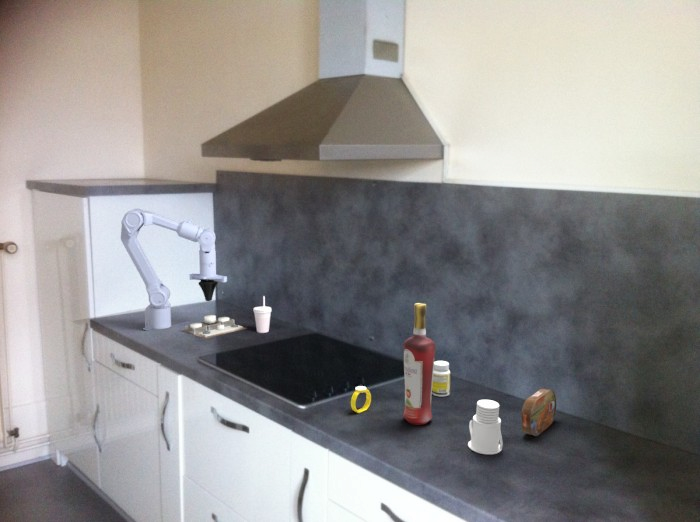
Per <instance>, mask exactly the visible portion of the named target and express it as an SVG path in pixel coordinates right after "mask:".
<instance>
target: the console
mask: <svg viewBox="0 0 700 522" xmlns="http://www.w3.org/2000/svg"><path fill="white" fill-rule="evenodd" d="M200 323H201V324H202V327H198V328H191V327H190V324H188V325H185V326H184V329H183V330H181V332H183V333H186V334H190V335H193V336H196V337H198V338H199V337H200V338H204V339H210V338H213V337H217V336H221V335H226V334H229V333H234V332H238V331H241V330H242V331H243V330H247V329H248V328H247V327H244V326H243V328H240V329H236V330H232V331H228V332H224V333H220V334H216V335H211V336H207V337H204V336H201V335H198V333H201V332H204V331H209V330H214V329H217V325H224V327H227V326H231V325H235V319H234V318H230V317H229V321H225V322H221V321H218V318H216V323H212V324H206V323H204V321H202V322H200Z"/></svg>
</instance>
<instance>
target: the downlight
mask: <svg viewBox="0 0 700 522" xmlns="http://www.w3.org/2000/svg"><path fill="white" fill-rule="evenodd" d="M499 411H500V403H499V402H497V401H495V400H491V399H479V400H477V402H476V413H475V414H474V415H473V417H472V419H471V420H470V421H469V424H468V428H469V429H468V430H469V433H470V440H469V441H468V443H467V446H468V448H469V449H470V450H471V451H473V452H475V453H477V454H482V455H496V454H498V453H500V452H501V451H502V450H503V445H504V441H503V437H502V431H501V425H502V419H501V418H500V417H499Z"/></svg>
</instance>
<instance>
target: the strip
mask: <svg viewBox="0 0 700 522" xmlns="http://www.w3.org/2000/svg"><path fill="white" fill-rule="evenodd" d="M243 327H244V326H242V325H239V324H235V325H231V326H227V327H224V325H217V329H214V330H209V331H204V332H201V333H198V335H201V336H204V337H207V336H211V335H216V334H220V333H224V332H228V331H232V330H236V329H240V328H243Z"/></svg>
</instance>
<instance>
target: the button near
mask: <svg viewBox="0 0 700 522" xmlns="http://www.w3.org/2000/svg"><path fill="white" fill-rule="evenodd" d="M189 325H190V327H191V328H198V327H202V324H201V322H193V323H190V324H189Z"/></svg>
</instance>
